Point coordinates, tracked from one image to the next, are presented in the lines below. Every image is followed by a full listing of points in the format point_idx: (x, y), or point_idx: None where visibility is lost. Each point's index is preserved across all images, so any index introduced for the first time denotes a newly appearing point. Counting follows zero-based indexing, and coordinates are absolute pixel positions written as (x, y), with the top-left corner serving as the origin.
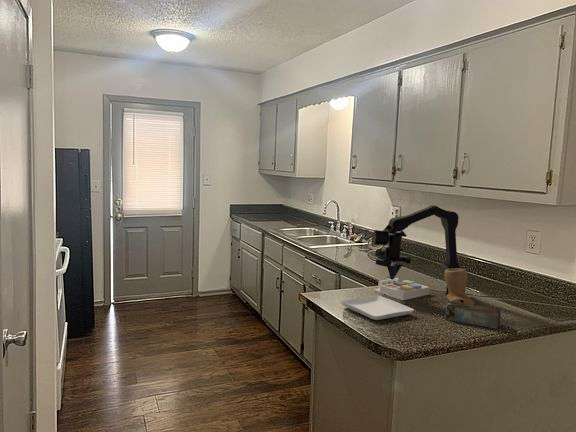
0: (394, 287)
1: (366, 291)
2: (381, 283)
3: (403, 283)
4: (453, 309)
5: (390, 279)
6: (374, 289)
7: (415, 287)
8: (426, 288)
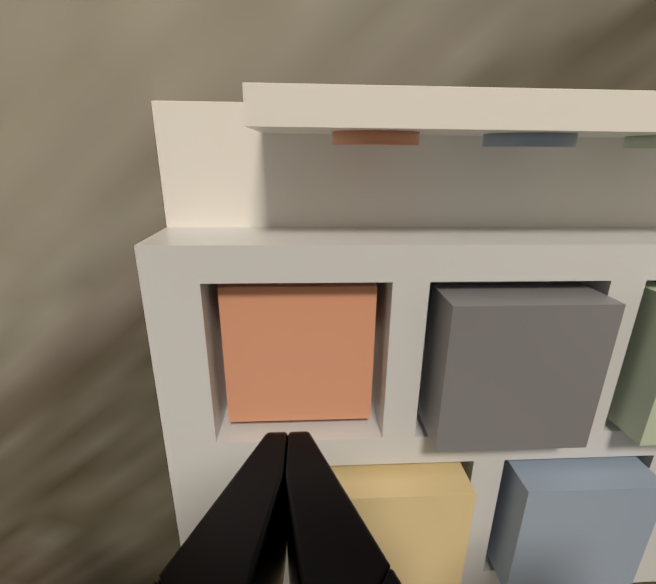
0: (348, 369)
1: (37, 41)
2: (302, 130)
3: (533, 429)
4: None
5: (633, 115)
6: (154, 113)
7: (501, 576)
8: (647, 573)
